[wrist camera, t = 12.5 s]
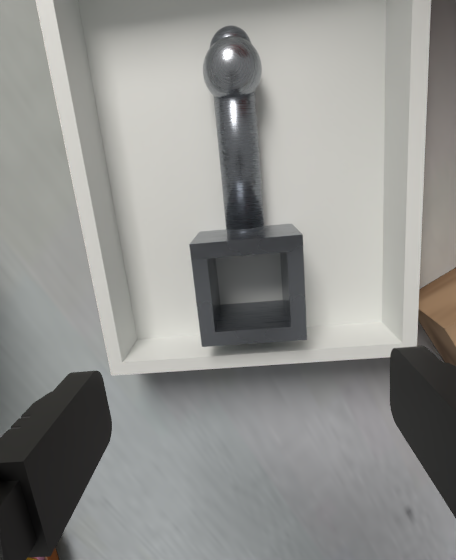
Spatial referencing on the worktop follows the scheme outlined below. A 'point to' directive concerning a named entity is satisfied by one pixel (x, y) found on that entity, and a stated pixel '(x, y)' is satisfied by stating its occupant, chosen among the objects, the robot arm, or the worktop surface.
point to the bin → (273, 165)
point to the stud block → (440, 314)
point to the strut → (243, 210)
